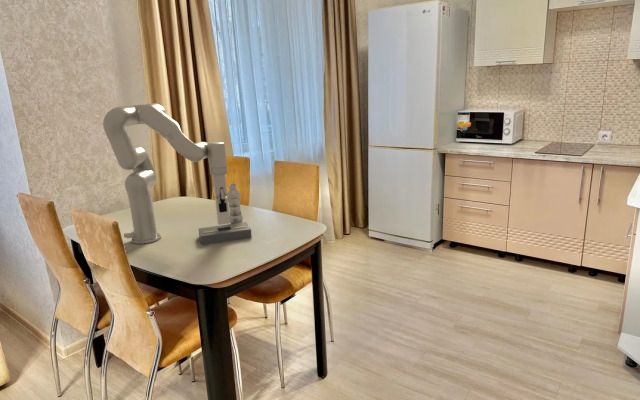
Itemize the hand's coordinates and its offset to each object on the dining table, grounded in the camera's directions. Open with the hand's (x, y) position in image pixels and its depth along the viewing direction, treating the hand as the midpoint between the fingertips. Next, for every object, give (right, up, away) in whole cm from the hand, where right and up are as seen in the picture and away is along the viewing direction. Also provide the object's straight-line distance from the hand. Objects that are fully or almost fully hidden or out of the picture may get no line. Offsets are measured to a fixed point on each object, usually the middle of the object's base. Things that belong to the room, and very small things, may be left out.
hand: (222, 210), depth 199 cm
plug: (0, -6, +2) cm, 6 cm away
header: (0, -12, +3) cm, 13 cm away
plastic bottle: (+2, -8, +22) cm, 24 cm away
